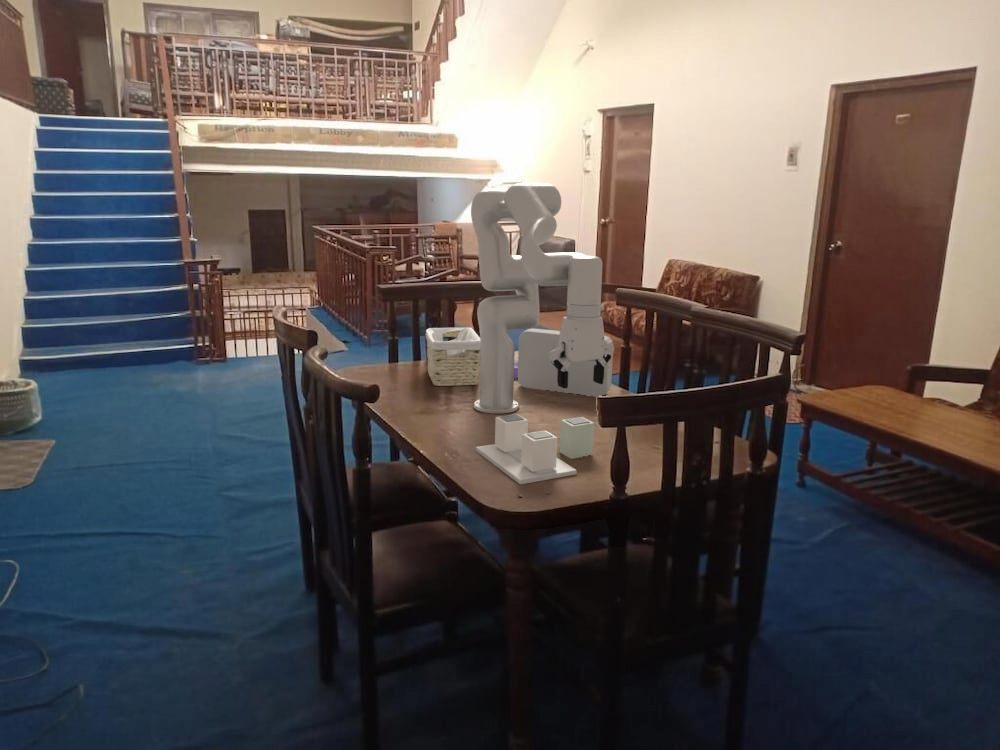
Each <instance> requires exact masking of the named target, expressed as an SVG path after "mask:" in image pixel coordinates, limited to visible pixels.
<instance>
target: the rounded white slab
mask: <svg viewBox="0 0 1000 750" xmlns="http://www.w3.org/2000/svg"><path fill="white" fill-rule="evenodd" d="M559 335H560V330H555V329H554V330H553V329H544V328H534V327H532V328H528V329H525V330H523V331H522V332H521V333H520V334H519V337H518V347H517V348H518V356H517V358H518V359H517V361H518V379H517V382H518V384H519V385H520V386H521V387H523V388H526V389H531V390H539V389H540V390H539V391H546V390H550V391H549V392H554V391H557V392H556V393H561V392H564V393H563V394H568V393H573V394H572V395H576V394H582V395H581V396H583V395H589V396H588V397H591V396H593V397H592V398H598V397H597V396H599V395H604V396H605V395H606V394H607V393H608V392H609V391H610V390H611V387H612V378H613V377H612V375H613V373H612V372H613V360H614V353H613V354H612V355H611V359H610V360H609V361H608V363H607V366H606V367H604V379H603V384H599V383H596V382H594V381H593V373H594V365H596V363H595V361H594V360H593V361H584V362H571V364H570V365H569V366H568V368H567V369H566V371H568V387H567V388H566V389H564V388H562V387H560V386H558V382H557V375H558V369H556V368H555V366H554V365H553V364H552V363H551V360H550V358H549V355H548V352H549V351H551V350H552V349H554V348H555V347H557V346H558V344H559ZM604 342H606V343H608V344H610V345H612V346H614V341H613V340H612V338H611V337H610V336H607V335H604ZM605 351H606V349H605V348H604V354H605ZM557 359H558V360H560V358H559V357H558V355H557ZM594 396H595V397H594Z"/></svg>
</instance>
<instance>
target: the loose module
mask: <svg viewBox="0 0 1000 750" xmlns="http://www.w3.org/2000/svg"><path fill="white" fill-rule="evenodd" d="M594 434H595V422H593V421H591V420H589V419H587V418H585V417H584V416H579V417H572V418H567V419H561V420H560V434H559V437H560V438H559V452H560V453H561V454H562V455H564V456H565V457H567V458H568V459H578V458H583V456H585V457H589V456H588V455H591V456H593V450H594Z"/></svg>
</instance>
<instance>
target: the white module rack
mask: <svg viewBox="0 0 1000 750" xmlns="http://www.w3.org/2000/svg"><path fill="white" fill-rule="evenodd" d="M494 429H495V430H494V443H493V444H487V445H480V446H475V452H476V453H478V454H479V455H481V456H482V457H483V458H484V459H486V460H487V461H489V462H490V463H492V465H494V466H495V467H496V468H498V469H499V470H501V471H502V472H503V473H505V475H507V476H509V477H510V479H512V480H513V481H515V482H516V483H518V485H525V484H530V483H532V484H533V483H536V482H537V483H538V482H542V481H547V480H553V479H558V478H562V477H564V478H565V477H568V476H573V475H577V469H575V468H574V467H572V466H571V465H569V464H567V463H566V462H565V461H563V460H561V459H560V458H558V453H557V452H558V436H556V435H554V434H552V433H551V432H549V431H547V430H540V431H532V432H529V419H527V418H525V417H524V416H522V415H520V414H519V413H516V414H515V413H513V414H508V415H507V414H506V415H501V416H495V425H494Z"/></svg>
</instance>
